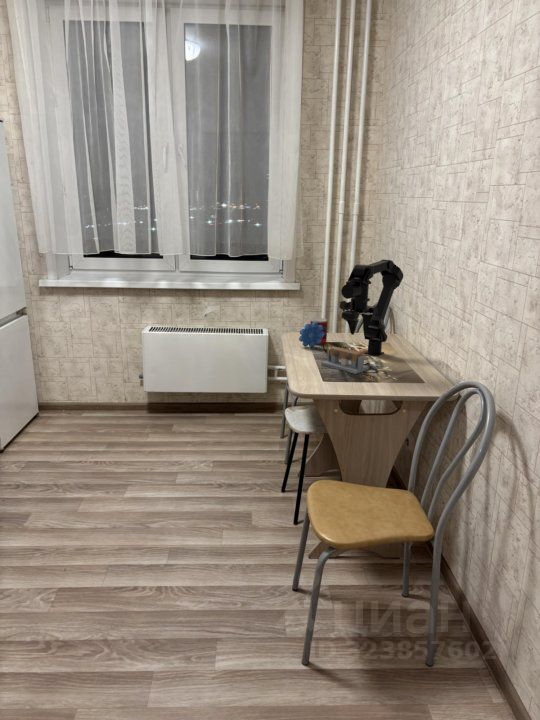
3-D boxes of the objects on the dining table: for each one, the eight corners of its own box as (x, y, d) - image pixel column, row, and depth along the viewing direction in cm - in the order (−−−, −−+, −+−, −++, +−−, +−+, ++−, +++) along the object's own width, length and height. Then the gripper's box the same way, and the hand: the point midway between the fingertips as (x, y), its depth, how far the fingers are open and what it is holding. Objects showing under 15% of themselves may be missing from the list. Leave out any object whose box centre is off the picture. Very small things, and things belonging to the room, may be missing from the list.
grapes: (324, 345, 250) (325, 320, 246) (323, 349, 243) (324, 323, 240) (299, 344, 251) (300, 319, 248) (298, 348, 245) (299, 322, 241)
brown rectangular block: (329, 355, 220) (329, 348, 219) (334, 353, 222) (334, 346, 221) (355, 361, 211) (356, 354, 210) (361, 359, 214) (361, 352, 213)
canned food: (307, 340, 258) (308, 318, 255) (322, 339, 260) (323, 317, 257) (313, 344, 251) (314, 321, 248) (328, 343, 253) (330, 320, 250)
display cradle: (334, 360, 227) (334, 346, 225) (368, 369, 216) (369, 354, 214) (321, 364, 220) (321, 351, 218) (356, 374, 209) (357, 359, 208)
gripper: (357, 290, 232) (354, 326, 236) (331, 296, 218) (329, 333, 223) (379, 294, 224) (376, 330, 229) (354, 299, 211) (352, 337, 216)
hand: (358, 332), depth 224 cm, fingers open, 9 cm apart
